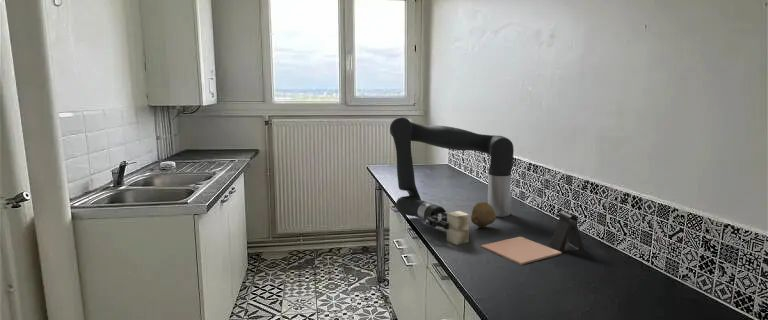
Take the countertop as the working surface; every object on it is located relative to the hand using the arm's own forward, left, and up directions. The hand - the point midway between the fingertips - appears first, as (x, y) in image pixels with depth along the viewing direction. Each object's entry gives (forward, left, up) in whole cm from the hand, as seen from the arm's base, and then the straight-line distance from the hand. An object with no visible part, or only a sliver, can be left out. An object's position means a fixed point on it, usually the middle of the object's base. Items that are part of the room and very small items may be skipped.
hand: (458, 224), depth 157 cm
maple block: (0, 0, -6) cm, 6 cm away
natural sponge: (-18, -7, -6) cm, 20 cm away
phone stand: (-27, +24, -6) cm, 37 cm away
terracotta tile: (-12, +18, -6) cm, 22 cm away
